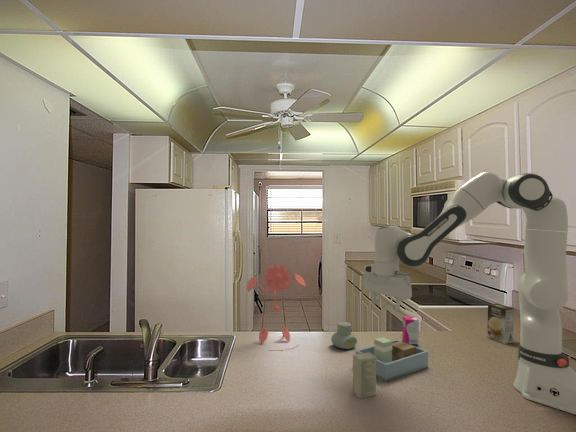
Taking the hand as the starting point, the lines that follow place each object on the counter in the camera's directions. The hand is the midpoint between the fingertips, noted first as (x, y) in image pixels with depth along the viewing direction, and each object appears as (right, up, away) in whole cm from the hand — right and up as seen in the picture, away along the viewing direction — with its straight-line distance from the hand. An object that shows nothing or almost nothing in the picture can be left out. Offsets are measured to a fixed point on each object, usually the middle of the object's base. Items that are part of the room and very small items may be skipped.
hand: (386, 306), depth 127 cm
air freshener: (-12, -23, +21) cm, 34 cm away
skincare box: (-12, -23, -18) cm, 32 cm away
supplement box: (+19, -24, +27) cm, 41 cm away
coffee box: (+63, -25, +34) cm, 76 cm away
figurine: (-41, -22, +22) cm, 52 cm away
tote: (+3, -23, +3) cm, 23 cm away
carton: (-1, -22, 0) cm, 22 cm away
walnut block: (+8, -22, +6) cm, 24 cm away
